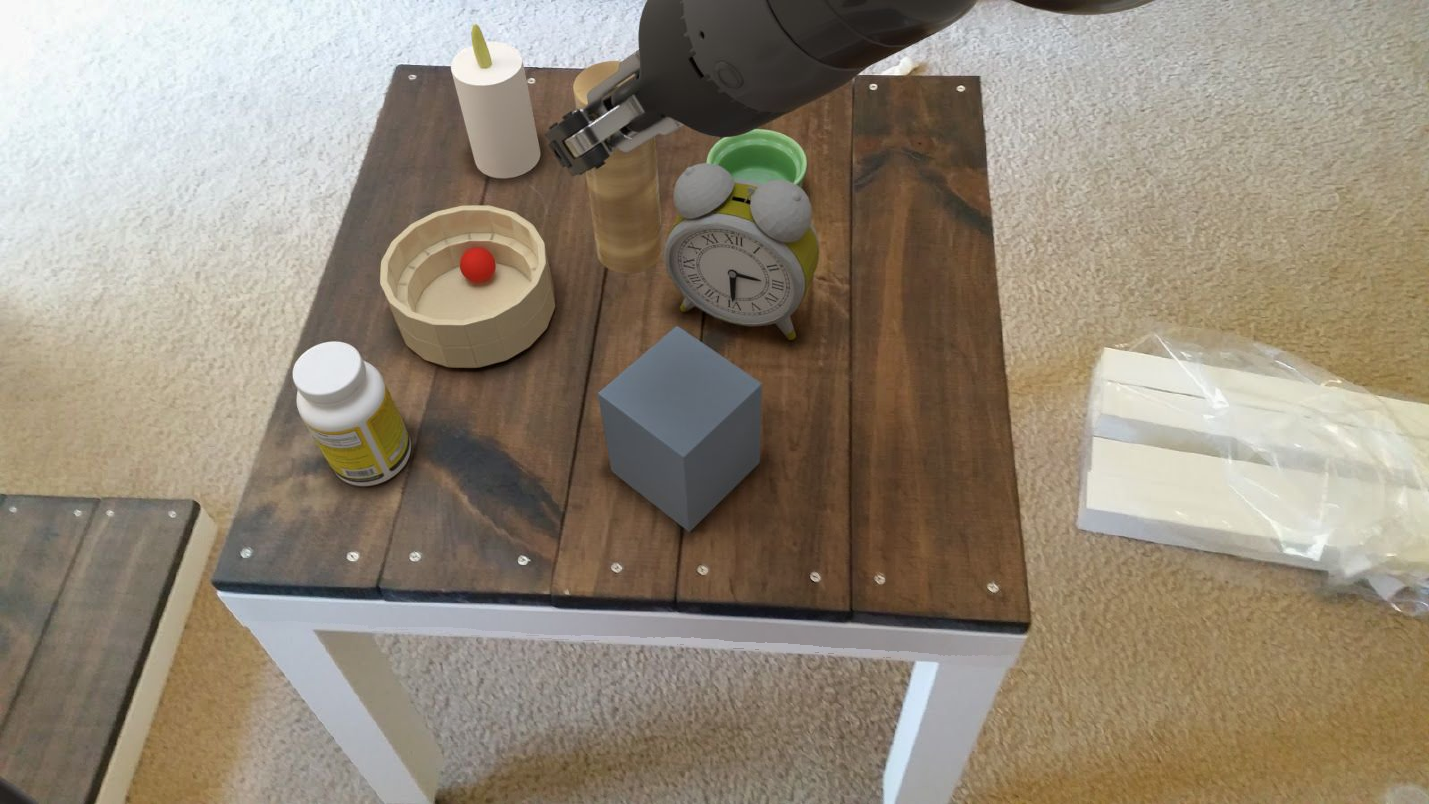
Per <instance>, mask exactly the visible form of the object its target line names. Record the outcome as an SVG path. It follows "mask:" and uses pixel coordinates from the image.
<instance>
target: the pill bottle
mask: <svg viewBox="0 0 1429 804" xmlns="http://www.w3.org/2000/svg"><path fill="white" fill-rule="evenodd" d="M292 381H293V383H294V385H295V387H296V389H297V392H296V399H295V400H296V401H295V402H296V407H297V410H298V413H299V416H300V418H301V420H302V422H303V423H304V424H305V425H306V428H307V429H308V431H309V433H310V434H311V436H312V438H313V440H314V441H315V443H316V444H317V446H318V448H319V450H320V451H321V453H322V454H323V457H324V458H325V459H326V461H327V463H328V464H329V466H330V468H331V469H332V471H333V473H334V474H335V475H336V476H337V477H338V478H339V479H340V480H342V481H343V482H345V483H346V484H349V485H351V486H357V487H369V486H371V487H372V486H376V485H379V484H382V483H385V482H386V481H389V480H390V479H392V478H393V477H395V476H396V475H397V474H398V473H399V472H400V471H402V470H403V469H404V467H405V466H406V465H407V463H408V460H409V458H410V455H411V451H412V440H411V436H410V434H409V431H408V429H407V426H406V424H405V423H404V420H403V419H402V416H401V414H400V412H399V410H398V407H397V405H396V404H395V401H394V399H393V397H392V395H391V393H390V391H389V388H388V386H387V384H386V382H385V380H384V378H383V376H382V374H381V372H380V371H379V370H378V369H377V368H376V367H375V366H374V365H372V364H371V363H369V362H367V361H365V360H363V358H362V356H361V353H360V352H359V351H358V350H357V349H356V348H355V347H354V346H352V345H351V344H349V343H346V342H342V341H326V342H322V343H318V344H316V345H314V346H312V347H310V348H309V349H307V350H306V351H304V352H303V353H302V354H301V355H300V356H299V357H298V359H297V360H296V361H295V363H294V365H293V369H292Z"/></svg>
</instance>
